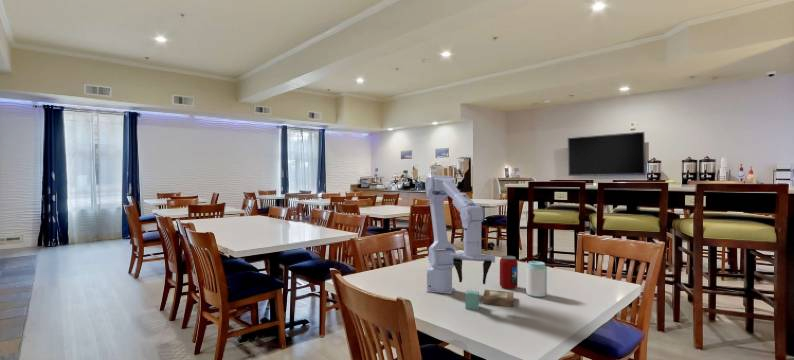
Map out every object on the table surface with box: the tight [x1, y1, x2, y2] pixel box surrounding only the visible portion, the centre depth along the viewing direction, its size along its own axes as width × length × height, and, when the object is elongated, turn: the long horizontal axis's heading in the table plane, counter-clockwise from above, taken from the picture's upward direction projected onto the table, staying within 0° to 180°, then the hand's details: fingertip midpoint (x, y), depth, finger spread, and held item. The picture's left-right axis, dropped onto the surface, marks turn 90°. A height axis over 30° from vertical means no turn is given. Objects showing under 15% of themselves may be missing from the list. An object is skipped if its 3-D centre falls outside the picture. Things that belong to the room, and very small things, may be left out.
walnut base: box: [482, 289, 514, 307], centre depth 135 cm, size 10×10×2 cm
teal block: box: [464, 289, 480, 311], centre depth 128 cm, size 4×4×5 cm
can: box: [525, 260, 548, 298], centre depth 142 cm, size 7×7×12 cm
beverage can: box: [499, 255, 519, 290], centre depth 151 cm, size 7×7×12 cm
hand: (472, 282), depth 128 cm, fingers open, 7 cm apart
